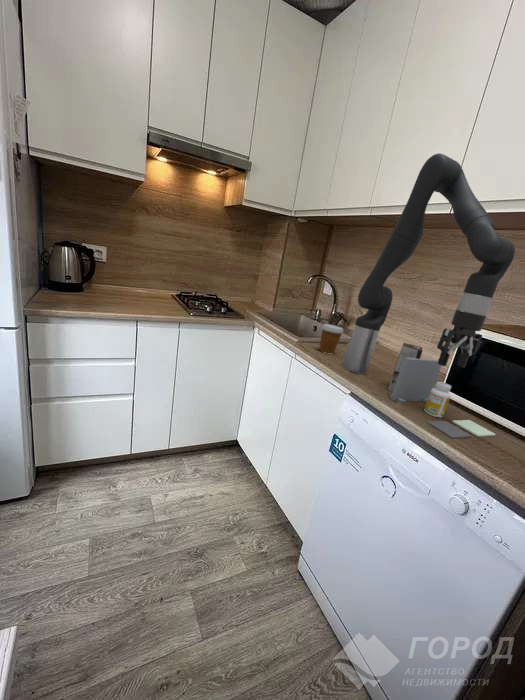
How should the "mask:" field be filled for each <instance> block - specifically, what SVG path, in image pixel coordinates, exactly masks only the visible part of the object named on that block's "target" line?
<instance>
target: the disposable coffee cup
mask: <svg viewBox="0 0 525 700" xmlns="http://www.w3.org/2000/svg"><path fill="white" fill-rule="evenodd" d="M343 333H344V328H343V327H341V326H338V325H334V324H329V323H323V325H322V326H321V336H320V343H319V350H321V351H323V352H326V353H335V351H336V348H337V347H338V346H337V345H338V344H339V341H340V339H341V337H342V334H343Z"/></svg>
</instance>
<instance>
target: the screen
mask: <svg viewBox="0 0 525 700" xmlns="http://www.w3.org/2000/svg"><path fill="white" fill-rule="evenodd" d="M438 360H439V359H438ZM438 360H437V359H424V358H420V359H416V358H404V360H403V363H402V366H401V369H400V372H399V375H398V378H397V381H396V384H395V387H394V390H393V391H392V393H389V395H388V397H389V398H390V400H391V401H393V402H397V403H399V404H400V405H402V404H403V405H404V404H406V403H407V402H423V403H425V404H426V403H427V400H428V397H429V394H430V392H431V389H432V388H435V386H436V383H437V379H438V376H439V374H440V371H441V368H442V367H443V366H442V365H439V364H438Z"/></svg>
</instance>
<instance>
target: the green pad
mask: <svg viewBox="0 0 525 700" xmlns="http://www.w3.org/2000/svg"><path fill="white" fill-rule="evenodd" d="M451 422H452V423H453V424H455V425H457V426H459V427H461V429H464V430H465V431H467V432H469V433H471V434H473V435H474V436H476V437H492V436H493V437H494V436H497V435H496V433H494V432H492V431H491V430H489V429H487V428H486V427H483V426H482V425H479V424H478V423H476V422H474V421H472V420H470V419H462V420H452V421H451Z"/></svg>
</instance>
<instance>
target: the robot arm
mask: <svg viewBox="0 0 525 700" xmlns="http://www.w3.org/2000/svg"><path fill="white" fill-rule="evenodd" d="M434 193H438V194H440V195H442V196H443V197H444V198H445V199H446V200H447V201H448V202H449V204H450V205H451V208H452V211H453V217H454V220H455V223H456V224H457V226H458V227H459V229H460V230H461V232H462V234H463V235H464V236H465V238H466V241H467V244H468V248H469V250H470V252H471V254H472V255H473V257H474V258H475V259H476V260H477V261H479V262H481V263H482V265H481V267H480V268H479V269H478V271H476V272H472V273H471V274H470V275H469V276H468V279H467V282H466V285H465V288H464V290H463V293H462V295H461V296H460V299H459V300H458V304H457V306H456V308H455V311H454V314H453V317H452V320H451V321H450V322H451V325H453V328H452V329H449V328H446V327H445V328H444V329H443V331H442V334H441V336H440V339H439V341H438V343H437V345H436V347H437V350H438V349H439V350H440V355H439V357H438V364H439V365H442V366H441V367H446V366H447V365H448V361H449V359H450V356H451V353H452V352H453V351H454V350H455V349H458V348H460V352H461V353H460V355H459V358H458V360H457V363H456V365H457V367H460V368H465V367H466V365H467V363H468V360H469V358H470V357H471V356H472V355H476V354H477V352H478V349H479V347H480V345H481V341H482V339H483V334H480V333H477V332H480V331H482V329H483V326H484V323H485V321H486V318H487V316H488V314H489V311H490V308H491V305H492V304H491V303H492V300H493V297H494V294H495V291H496V290H497V286H498V284H499V282H500V280H501V279H502V278H503V277H504V275H505V274H506V272H507V270H508V269H509V267H510V266H511V265H512V262H513V260H514V257H515V254H516V247H515V245H514V243H513V242H512V241H511V240H509V239H506V238H503V237H501V236H500V235H499V234H498V233H497V232H496V230H495V223H494V221H493V219H492V217H491V216H490V214H488V212H487V211H486V209H485V208H484V206H483V205H482V204H481V203H480V201H479V200H478V198H477V197H476V195H475V194H474V192H473V191H472V189H471V186H470V185H469V182H468V179H467V178H466V174H465V172H464V170H463V168H462V166H461V164H460V163H459V162H458V161H456V160H455V159H454V158H451V157H449V156H447V155H446V154H443V153H436V154H435V153H434V154H433V155H430V157H429V158H428V159H426V161H425V162H424V163H423V165H422V167H421V169H420V171H419V173H418V175H417V178H416V180H415V183H414V185H413V188H412V190H411V192H410V195H409V198H408V200H407V202H406V204H405V206H404V209H403V210H402V212H401V214H400V217H399V218H398V221H397V223H396V225H395V227H394V229H393V231H391V234H390V236H389V238H388V240H387V242H386V244H385V247H384V248H383V250H382V251H381V254H380V256H379V257H378V260H377V262H376V264H375V265H374V267H373V268H372V270H371V272H370V273H369V275H368V276H367V278H366V280H365V282H364V283H363V285H362V287H360V290H359V292H358V295H357V303H358V305H359V307H361V308H362V309H367V312H366V313H365V314H363V315H360V316H358V317H357V318H356V319H355V323H354V328H353V329H352V333H351V338H350V341H348V342H347V345H346V349H345V352H344V356H343V359H342V362H341V366H343V369H345V368H346V369H345V370H347V371H349V372H351V371H352V372H351V373H354V372H355V374H359V373H360V375H361V374H362V375H366V374H367V372H368V369H369V366H370V363H371V360H372V356H373V353H374V350H375V347H376V343H377V340H378V336H379V334H380V330H381V327H382V326H383V325H384V323H385V321H386V319H387V317H388V313H389V311H390V308H391V305H392V301H393V292H392V290H391V288H389V287H388V286H387V285H386V286H385V283H386V282H387V280H388V278H389V277H390V275H392V273H394V272H395V271H396V270H397V269H399V268H400V267H401V266H402V265H403V264H404V263H406V262H407V261H408V260H409V259H410V258H411V256H412V255H413V254H414V252H415V251H416V249H417V246H418V245H419V242H420V241H421V239H422V236H423V232H424V226H425V216H426V210H427V207H428V204H429V202H430V200H431V197H432V196H433V194H434Z"/></svg>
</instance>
